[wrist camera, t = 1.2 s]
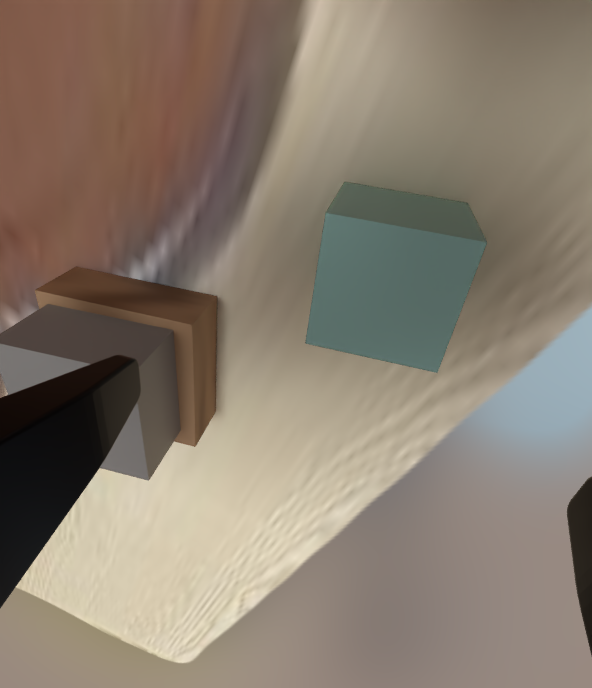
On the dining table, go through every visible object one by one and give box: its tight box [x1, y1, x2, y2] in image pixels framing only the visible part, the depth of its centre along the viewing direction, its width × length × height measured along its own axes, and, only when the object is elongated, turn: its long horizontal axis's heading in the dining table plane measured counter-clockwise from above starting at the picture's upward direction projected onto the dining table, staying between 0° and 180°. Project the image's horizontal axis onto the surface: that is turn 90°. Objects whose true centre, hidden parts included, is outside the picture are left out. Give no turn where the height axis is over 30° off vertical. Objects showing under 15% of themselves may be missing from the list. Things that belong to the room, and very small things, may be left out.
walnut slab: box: [35, 267, 217, 447], centre depth 23 cm, size 8×8×4 cm
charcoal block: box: [0, 304, 181, 480], centre depth 20 cm, size 6×6×4 cm
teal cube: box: [305, 182, 487, 373], centre depth 16 cm, size 5×5×5 cm
